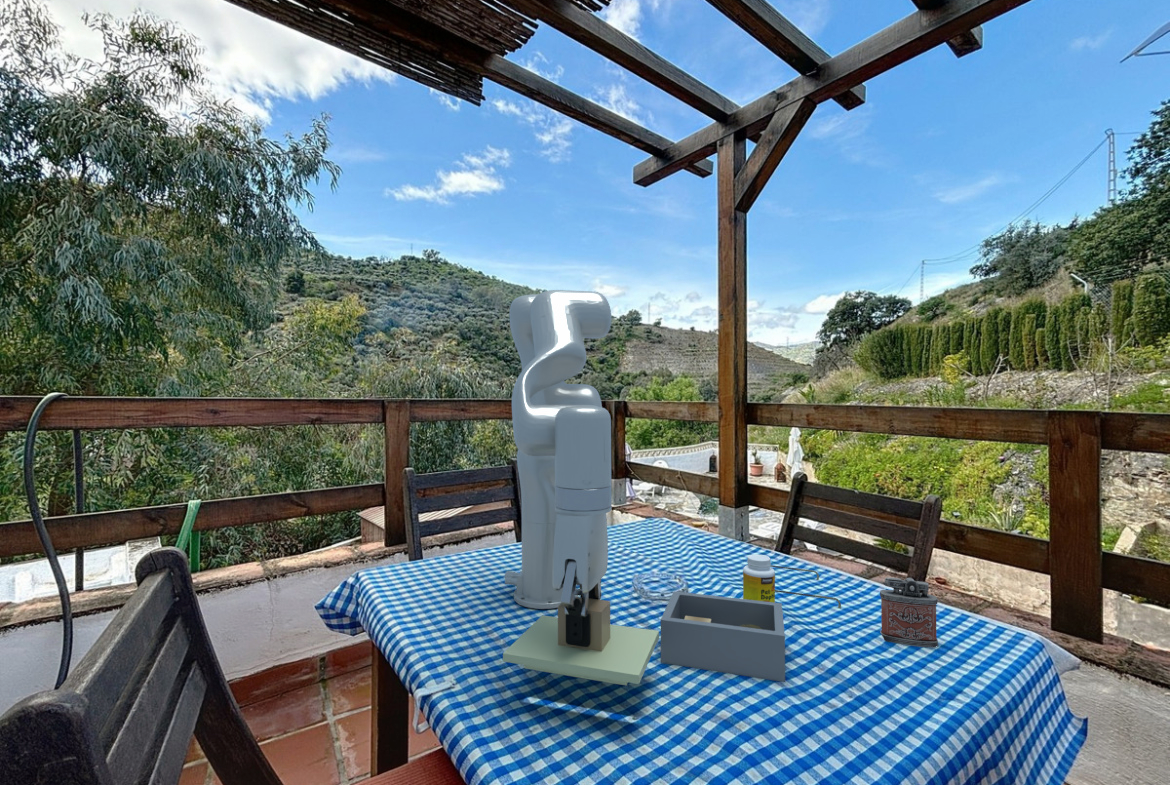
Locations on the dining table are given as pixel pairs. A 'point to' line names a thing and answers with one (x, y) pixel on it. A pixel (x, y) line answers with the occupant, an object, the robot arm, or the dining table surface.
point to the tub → (724, 635)
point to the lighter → (908, 613)
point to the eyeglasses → (806, 594)
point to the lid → (586, 648)
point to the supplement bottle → (759, 579)
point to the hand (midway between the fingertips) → (583, 635)
